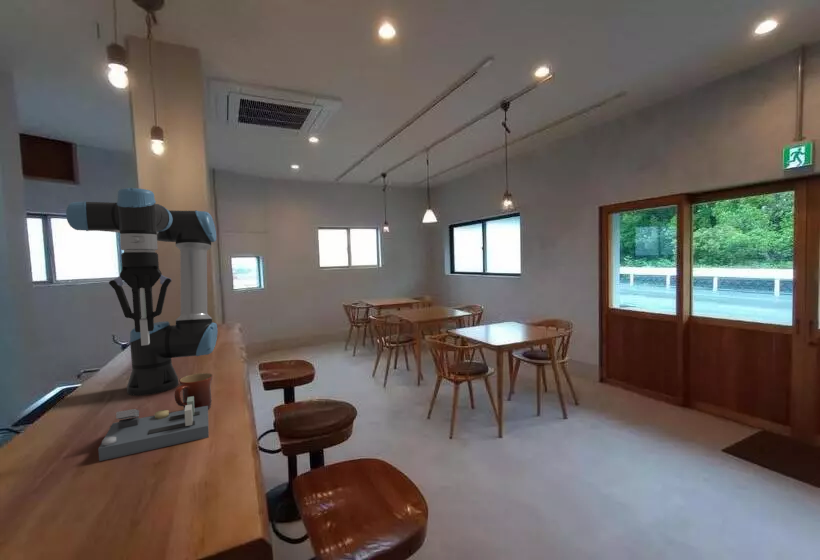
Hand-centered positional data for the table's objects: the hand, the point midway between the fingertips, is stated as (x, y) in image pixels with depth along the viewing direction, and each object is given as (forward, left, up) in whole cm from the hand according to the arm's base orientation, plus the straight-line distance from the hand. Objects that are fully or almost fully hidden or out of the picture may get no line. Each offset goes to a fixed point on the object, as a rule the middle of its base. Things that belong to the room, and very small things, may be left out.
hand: (145, 344), depth 94 cm
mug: (-12, +9, -25) cm, 29 cm away
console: (0, +2, -24) cm, 24 cm away
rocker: (-3, -5, -18) cm, 19 cm away
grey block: (-2, +9, -21) cm, 23 cm away
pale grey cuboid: (+4, +9, -21) cm, 23 cm away
